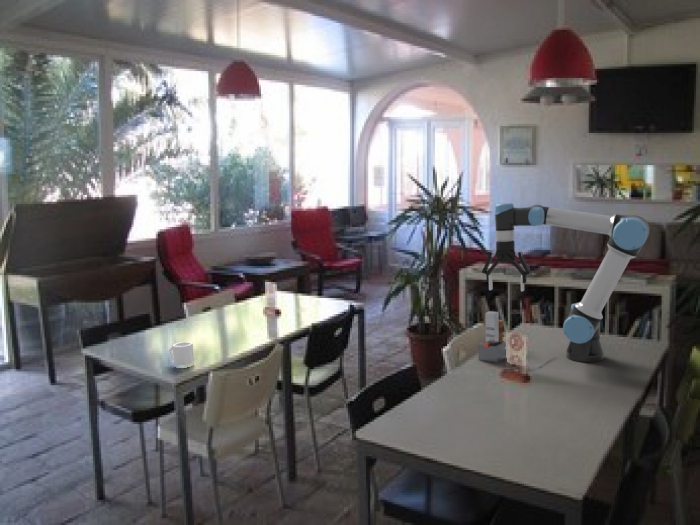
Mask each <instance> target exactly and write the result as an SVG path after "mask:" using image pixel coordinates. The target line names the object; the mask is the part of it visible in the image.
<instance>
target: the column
mask: <svg viewBox="0 0 700 525" xmlns="http://www.w3.org/2000/svg"><path fill="white" fill-rule="evenodd" d="M499 313H500V312H499V311H487V312H485V314H484V316H485V341H486V343H490V345H492V346H497V345H499V320H500V319H499V316H500V315H499Z"/></svg>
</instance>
